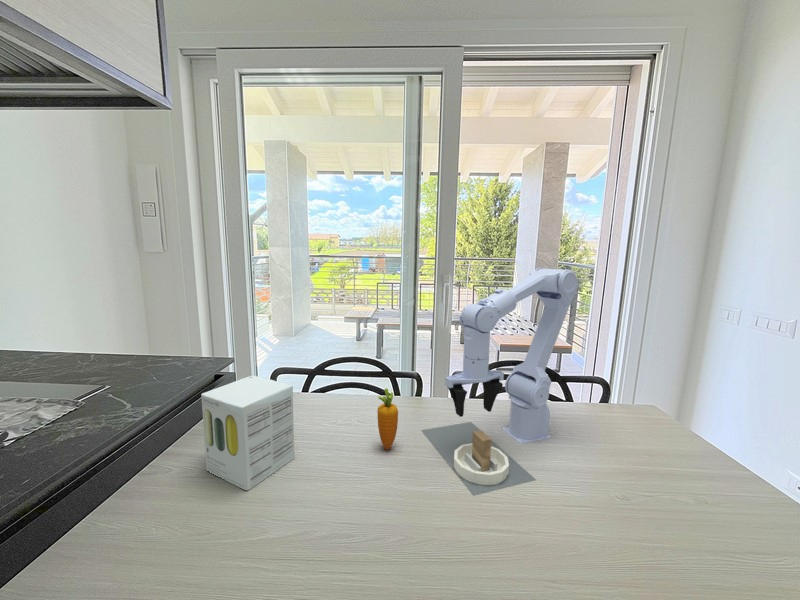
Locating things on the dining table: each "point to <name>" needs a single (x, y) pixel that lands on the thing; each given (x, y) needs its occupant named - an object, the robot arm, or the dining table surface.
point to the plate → (472, 470)
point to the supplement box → (248, 430)
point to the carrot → (387, 420)
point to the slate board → (461, 434)
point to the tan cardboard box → (481, 450)
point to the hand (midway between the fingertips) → (473, 412)
